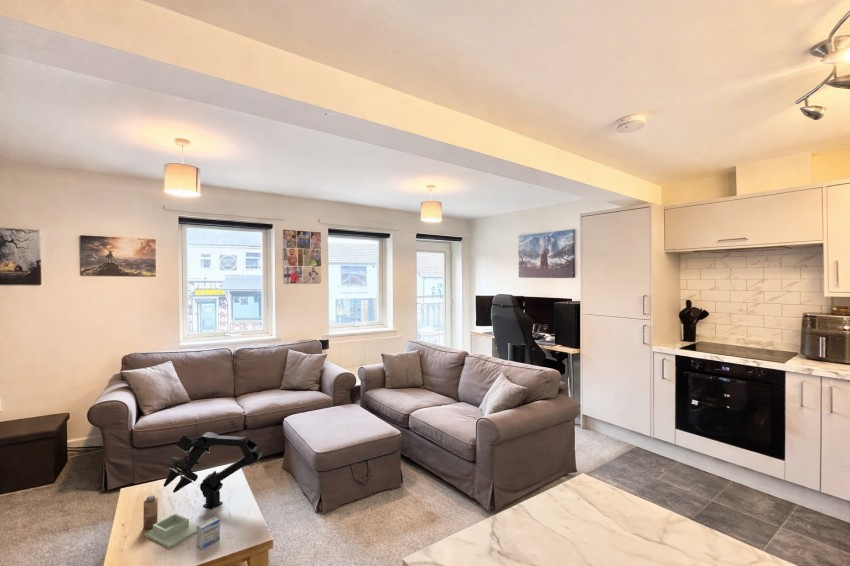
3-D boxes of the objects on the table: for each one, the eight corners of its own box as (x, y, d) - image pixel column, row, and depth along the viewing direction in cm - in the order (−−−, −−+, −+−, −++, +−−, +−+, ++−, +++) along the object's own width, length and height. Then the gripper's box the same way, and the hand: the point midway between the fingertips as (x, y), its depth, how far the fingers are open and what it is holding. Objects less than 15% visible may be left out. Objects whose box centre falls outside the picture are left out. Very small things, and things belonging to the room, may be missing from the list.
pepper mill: (159, 524, 180) (160, 496, 180) (147, 531, 175) (147, 501, 175) (153, 521, 182) (153, 493, 182) (140, 527, 177) (141, 498, 177)
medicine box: (201, 549, 164) (201, 528, 164) (195, 545, 166) (196, 525, 166) (220, 539, 170) (220, 519, 170) (214, 535, 173) (214, 515, 173)
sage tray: (202, 530, 176) (202, 520, 176) (169, 548, 164) (169, 538, 164) (177, 518, 184) (177, 509, 184) (144, 535, 172) (144, 526, 172)
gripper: (172, 444, 194) (146, 476, 185) (191, 454, 184) (164, 488, 175) (188, 455, 201) (164, 486, 192) (208, 465, 190) (183, 498, 181)
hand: (168, 489), depth 185 cm, fingers open, 9 cm apart
